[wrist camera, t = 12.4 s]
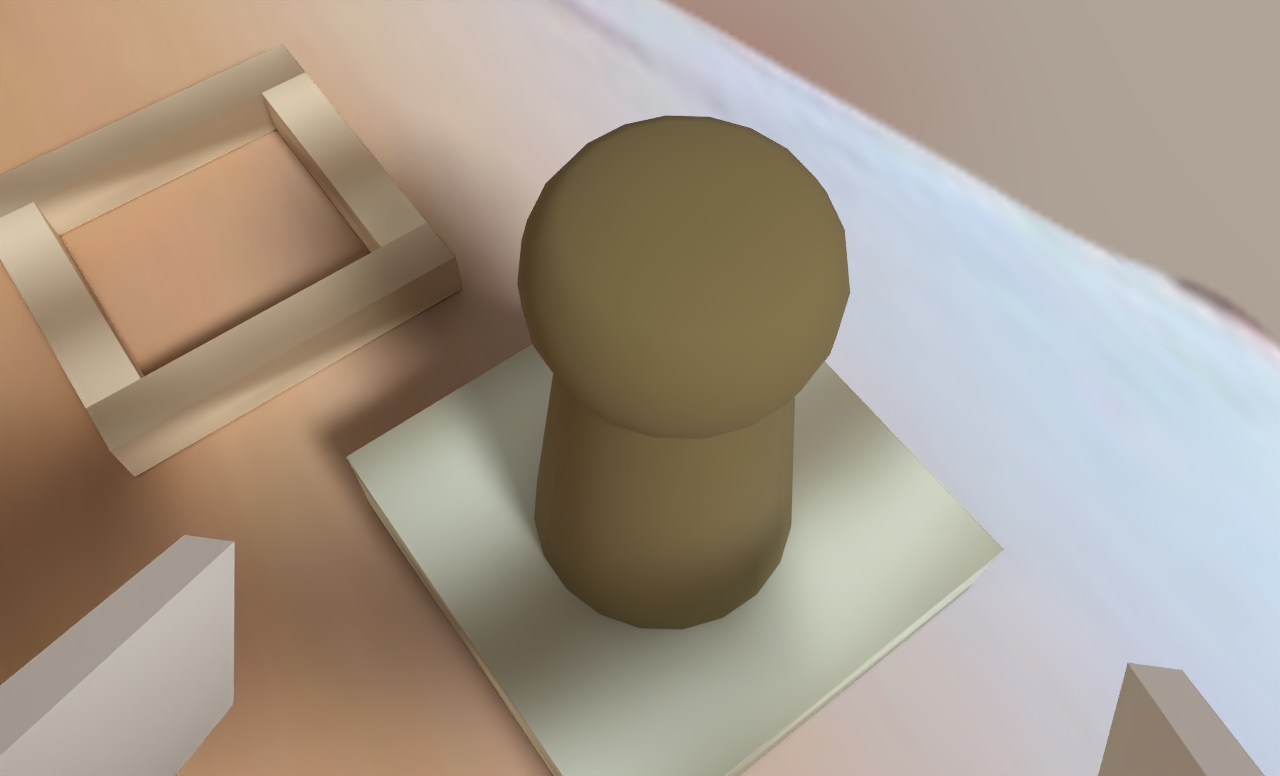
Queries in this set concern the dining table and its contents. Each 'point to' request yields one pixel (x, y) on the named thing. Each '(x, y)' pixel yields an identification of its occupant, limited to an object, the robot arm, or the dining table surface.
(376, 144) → the dining table surface
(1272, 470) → the dining table surface
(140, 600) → the robot arm
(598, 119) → the dining table surface
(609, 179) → the cork
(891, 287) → the dining table surface
